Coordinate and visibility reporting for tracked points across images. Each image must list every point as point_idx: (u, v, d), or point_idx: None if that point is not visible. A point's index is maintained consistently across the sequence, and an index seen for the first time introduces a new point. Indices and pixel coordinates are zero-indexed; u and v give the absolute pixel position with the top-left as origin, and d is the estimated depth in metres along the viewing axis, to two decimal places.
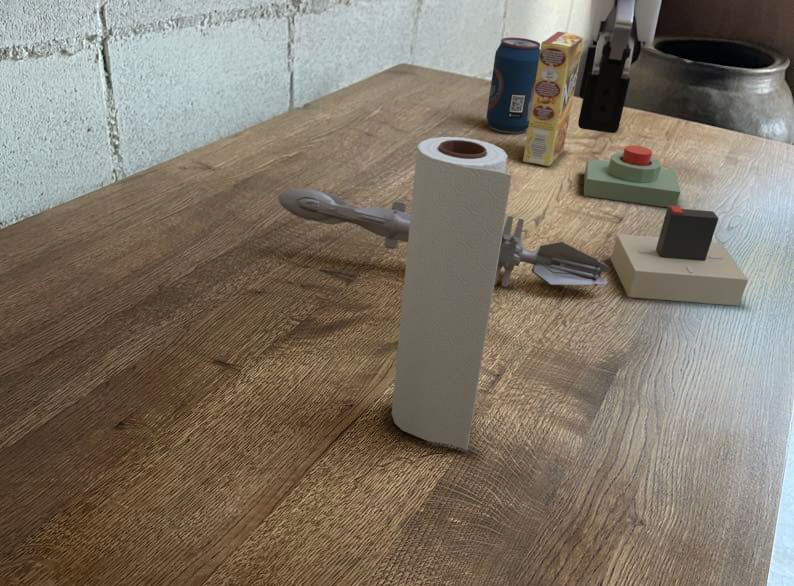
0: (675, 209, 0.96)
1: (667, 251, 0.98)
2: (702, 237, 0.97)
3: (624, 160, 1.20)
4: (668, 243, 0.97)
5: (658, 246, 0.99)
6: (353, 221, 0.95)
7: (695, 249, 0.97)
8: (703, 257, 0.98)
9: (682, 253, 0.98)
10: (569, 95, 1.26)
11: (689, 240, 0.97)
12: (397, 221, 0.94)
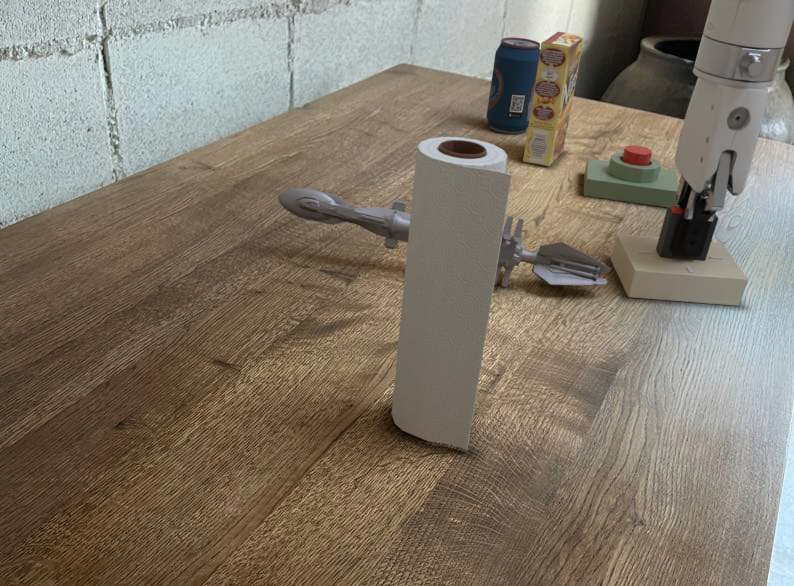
0: (675, 209, 0.96)
1: (667, 251, 0.98)
2: None
3: (624, 160, 1.20)
4: (668, 243, 0.97)
5: (658, 246, 0.99)
6: (353, 221, 0.95)
7: None
8: (703, 257, 0.98)
9: None
10: (569, 95, 1.26)
11: None
12: (397, 221, 0.94)
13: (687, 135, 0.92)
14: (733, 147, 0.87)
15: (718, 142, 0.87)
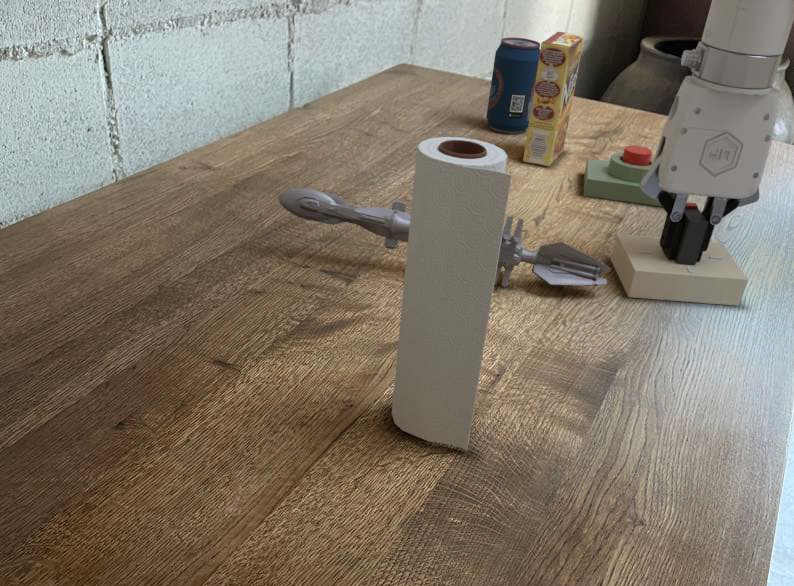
0: (687, 203, 0.97)
1: None
2: None
3: (624, 160, 1.20)
4: None
5: None
6: (353, 221, 0.95)
7: None
8: (677, 259, 0.97)
9: None
10: (569, 95, 1.26)
11: None
12: (397, 221, 0.94)
13: None
14: (665, 134, 0.91)
15: (664, 127, 0.92)
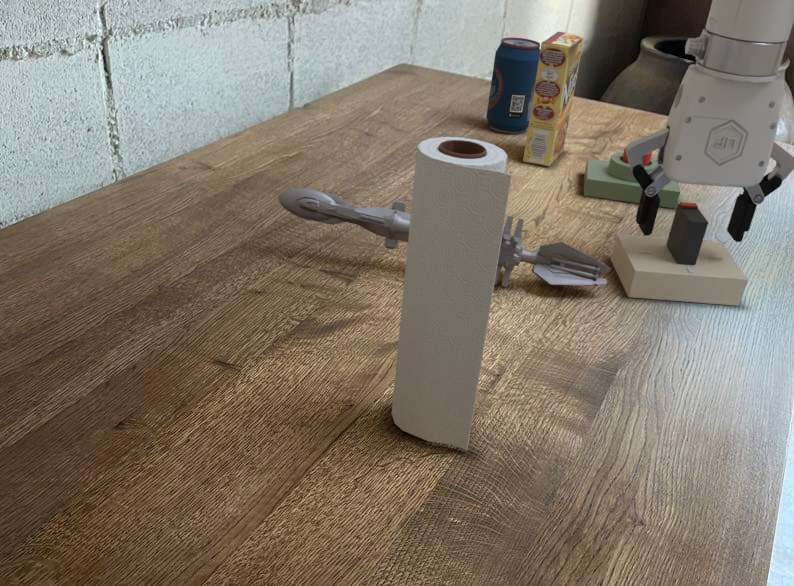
0: (687, 203, 0.97)
1: (668, 241, 1.00)
2: (681, 237, 0.96)
3: (624, 160, 1.20)
4: (670, 233, 0.99)
5: None
6: (353, 221, 0.95)
7: (676, 248, 0.97)
8: (677, 259, 0.97)
9: (672, 248, 0.99)
10: (569, 95, 1.26)
11: (676, 236, 0.97)
12: (397, 221, 0.94)
13: None
14: (670, 123, 0.90)
15: (668, 116, 0.91)
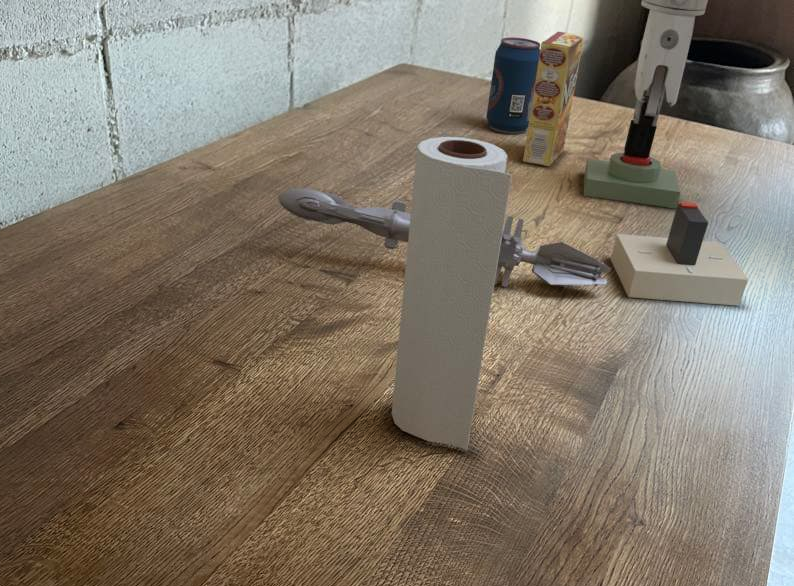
0: (687, 203, 0.97)
1: (668, 241, 1.00)
2: (681, 237, 0.96)
3: None
4: (670, 233, 0.99)
5: None
6: (353, 221, 0.95)
7: (676, 248, 0.97)
8: (677, 259, 0.97)
9: (672, 248, 0.99)
10: (569, 95, 1.26)
11: (676, 236, 0.97)
12: (397, 221, 0.94)
13: (639, 57, 1.14)
14: (665, 63, 1.09)
15: (653, 58, 1.09)
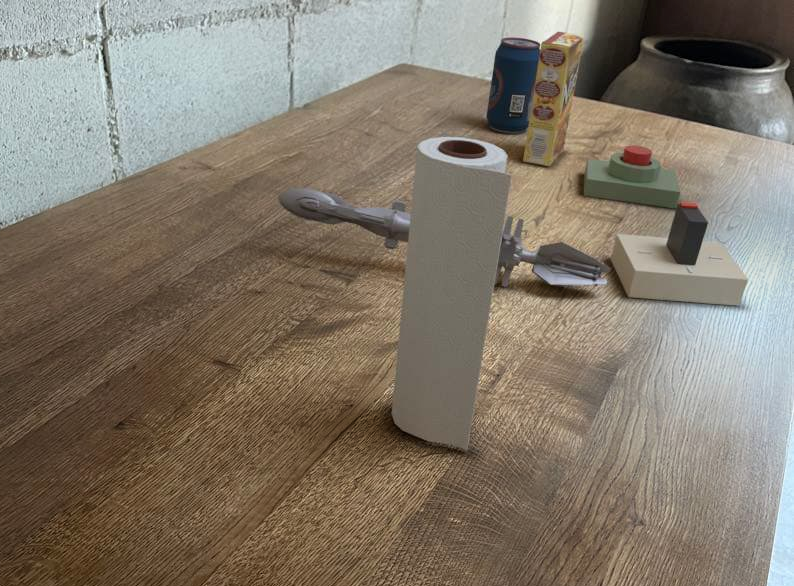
0: (687, 203, 0.97)
1: (668, 241, 1.00)
2: (681, 237, 0.96)
3: (624, 160, 1.20)
4: (670, 233, 0.99)
5: None
6: (353, 221, 0.95)
7: (676, 248, 0.97)
8: (677, 259, 0.97)
9: (672, 248, 0.99)
10: (569, 95, 1.26)
11: (676, 236, 0.97)
12: (397, 221, 0.94)
13: None
14: None
15: None
